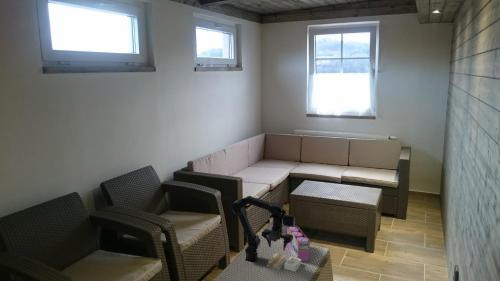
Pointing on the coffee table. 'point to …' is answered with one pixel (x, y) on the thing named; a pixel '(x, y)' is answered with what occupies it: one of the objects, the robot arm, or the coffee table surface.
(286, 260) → the mat
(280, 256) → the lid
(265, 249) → the coffee table surface
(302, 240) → the gum box
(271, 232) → the robot arm
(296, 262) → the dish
